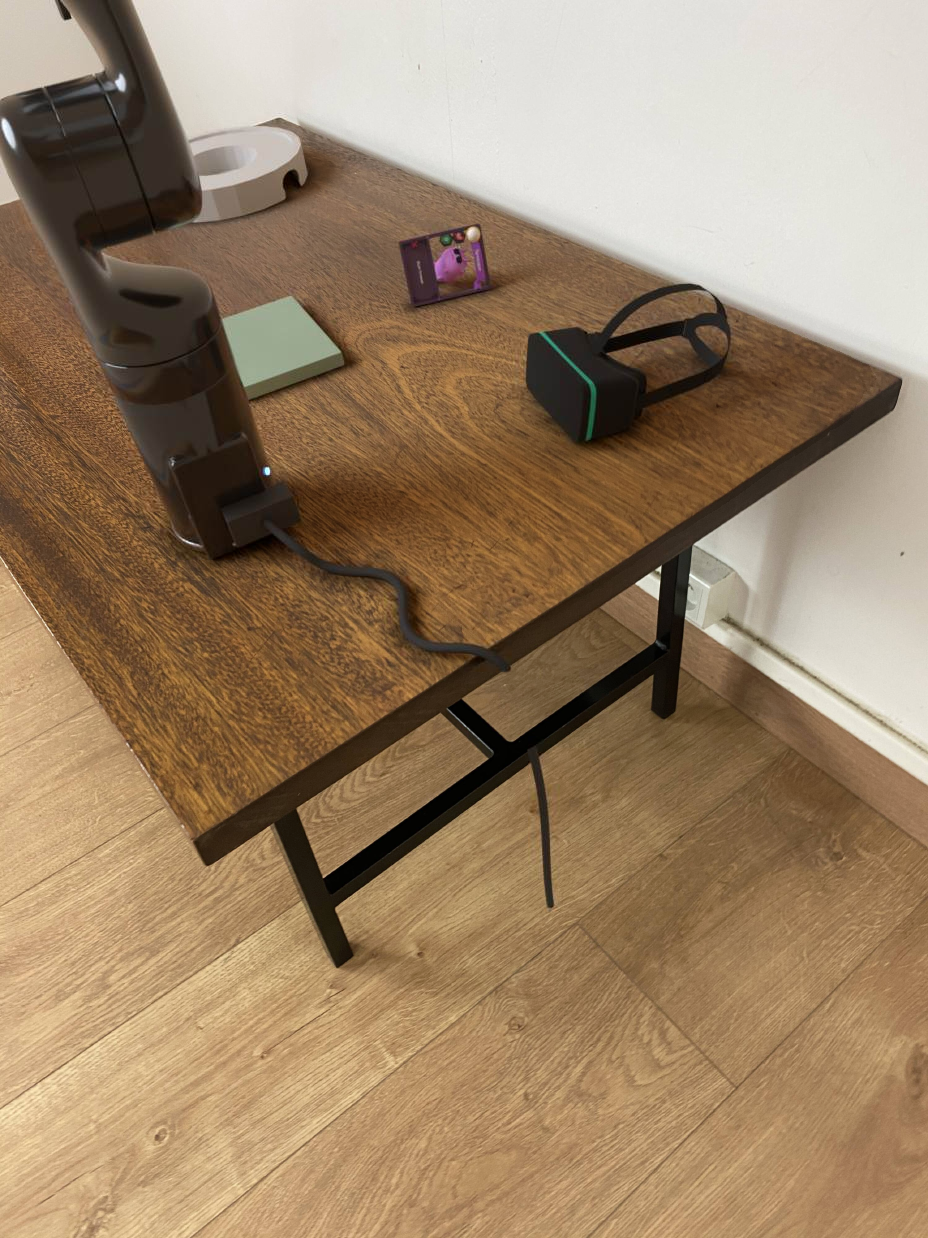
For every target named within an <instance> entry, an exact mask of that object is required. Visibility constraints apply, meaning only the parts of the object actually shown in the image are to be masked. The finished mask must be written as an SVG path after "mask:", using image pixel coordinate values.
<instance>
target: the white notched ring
mask: <svg viewBox="0 0 928 1238" xmlns="http://www.w3.org/2000/svg"><path fill="white" fill-rule="evenodd" d="M187 138H188V141H189V144H190V147H191V150H192V153H193V156H194V159H195V163H196V166H197V170H198V174H199V177H200V183H201V189H202V210H201V213H200V215H199V216H198V218H197V219H196V220H194V221H193V222H192V223H206V222H207V223H208V222H219V221H224V220H229V219H233V218H239V217H243V216H246V215H249V214H252V213H255V212H260V211H262V210H265V209H268V208H270V207H272V206H274V205H277V204H278V203H280V202H283V201H284V200H285V199H286V197H287V196H286V193H287V192H286V190H285V189H284V184H283V183H284V178H285V176H286V174H287V173H289V172H290V171H291V173H292V174H293V176H294V178H295V179H296V180H297V182H298V183H299V185H300V186H301V187H302V186H303V185H304V184H305V183H306V180H307V178H308V175H309V174H308V168H307V165H306V160H305V156H304V155H305V154H304V151H303V146H302V142H301V140H300V137H299V136H298V135H296V134H295V133H294V132H292V131H290V130H287V129H285V128H281V127H275V126H266V125H244V126H235V127H227V128H226V127H225V128H222V129H216V130H211V131H206V132H203V133H198V134H195V135H192V136H189V137H188V136H187Z"/></svg>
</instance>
